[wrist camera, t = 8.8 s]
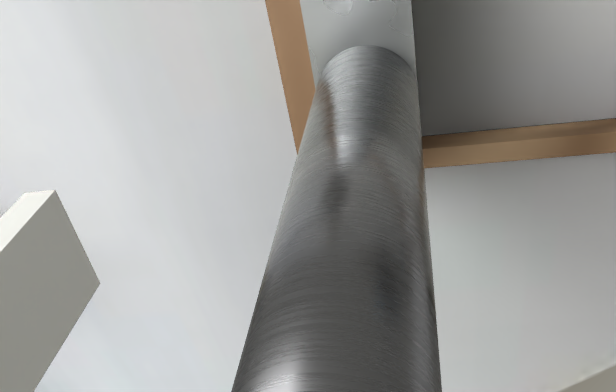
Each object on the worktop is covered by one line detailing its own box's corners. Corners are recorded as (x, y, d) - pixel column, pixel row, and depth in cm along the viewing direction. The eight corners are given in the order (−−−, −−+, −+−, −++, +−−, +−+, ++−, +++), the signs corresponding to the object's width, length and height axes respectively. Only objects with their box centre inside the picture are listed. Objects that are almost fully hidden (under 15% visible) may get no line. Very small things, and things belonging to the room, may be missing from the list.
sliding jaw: (401, -130, 21) (432, 252, 3) (420, 120, 26) (472, 790, 8) (319, -115, 22) (-52, 279, 4) (353, 126, 27) (272, 766, 9)
